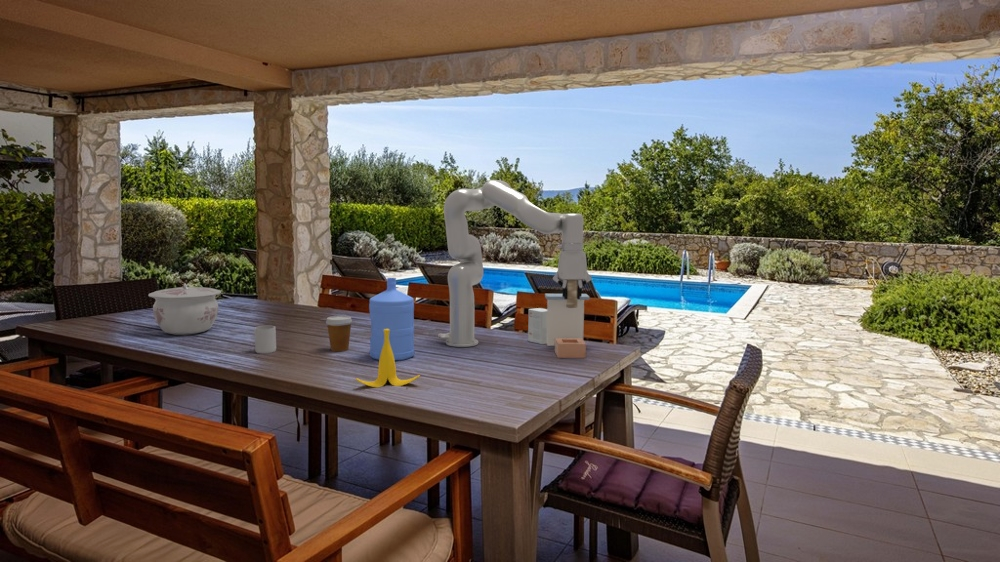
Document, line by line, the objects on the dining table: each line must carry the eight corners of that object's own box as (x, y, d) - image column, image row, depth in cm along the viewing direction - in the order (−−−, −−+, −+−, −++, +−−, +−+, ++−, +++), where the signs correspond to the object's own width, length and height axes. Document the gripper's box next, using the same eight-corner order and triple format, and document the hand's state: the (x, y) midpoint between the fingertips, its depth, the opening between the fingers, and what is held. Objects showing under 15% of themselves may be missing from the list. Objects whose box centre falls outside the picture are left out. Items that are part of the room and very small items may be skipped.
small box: (553, 342, 252) (553, 310, 251) (541, 344, 248) (541, 311, 247) (539, 339, 258) (539, 307, 257) (527, 341, 254) (528, 309, 253)
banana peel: (354, 390, 185) (353, 333, 183) (384, 373, 203) (383, 322, 201) (405, 395, 180) (405, 337, 179) (431, 378, 199) (431, 325, 197)
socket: (557, 357, 227) (557, 343, 226) (554, 351, 237) (554, 338, 236) (585, 357, 227) (585, 344, 226) (581, 351, 237) (581, 338, 236)
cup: (251, 353, 229) (250, 329, 228) (264, 347, 239) (263, 324, 238) (271, 353, 228) (270, 329, 227) (282, 347, 238) (282, 324, 237)
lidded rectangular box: (545, 349, 239) (546, 296, 237) (544, 344, 247) (545, 293, 245) (588, 349, 240) (589, 296, 237) (585, 345, 248) (586, 293, 245)
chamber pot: (185, 341, 249) (182, 288, 246) (134, 335, 259) (131, 285, 256) (238, 328, 275) (236, 281, 272) (190, 324, 285) (187, 278, 282)
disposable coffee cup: (343, 353, 230) (343, 320, 229) (321, 351, 233) (320, 319, 232) (357, 348, 239) (357, 316, 238) (335, 346, 242) (335, 315, 241)
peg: (567, 308, 227) (567, 274, 226) (565, 306, 231) (565, 273, 230) (578, 307, 227) (578, 274, 226) (576, 306, 231) (576, 273, 230)
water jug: (423, 356, 227) (422, 278, 224) (387, 363, 216) (386, 282, 212) (396, 349, 238) (395, 275, 234) (361, 356, 226) (359, 278, 223)
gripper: (550, 248, 223) (549, 300, 225) (597, 248, 224) (596, 300, 226) (548, 247, 231) (547, 297, 233) (593, 247, 231) (593, 297, 233)
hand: (571, 298), depth 229 cm, fingers closed on peg, 4 cm apart
